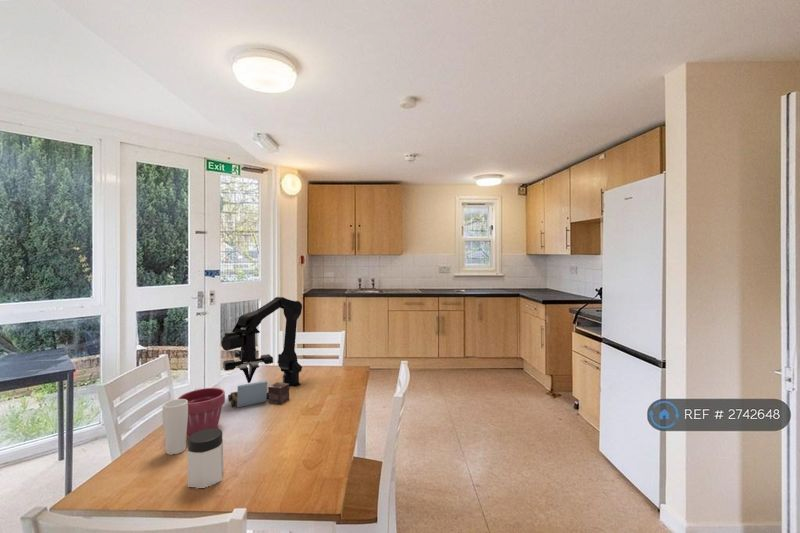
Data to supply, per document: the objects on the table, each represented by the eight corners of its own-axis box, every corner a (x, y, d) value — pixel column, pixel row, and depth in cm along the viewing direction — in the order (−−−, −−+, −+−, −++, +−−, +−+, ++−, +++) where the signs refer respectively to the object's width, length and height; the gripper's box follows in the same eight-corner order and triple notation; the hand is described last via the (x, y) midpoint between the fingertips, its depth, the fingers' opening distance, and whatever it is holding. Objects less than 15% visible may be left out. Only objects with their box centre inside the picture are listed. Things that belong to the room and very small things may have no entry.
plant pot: (176, 446, 115) (175, 405, 115) (179, 428, 128) (178, 391, 128) (226, 435, 122) (225, 397, 122) (224, 419, 134) (224, 385, 134)
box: (289, 400, 152) (289, 383, 152) (280, 406, 146) (280, 388, 146) (277, 399, 154) (277, 382, 154) (268, 404, 148) (267, 386, 148)
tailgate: (266, 401, 150) (265, 399, 150) (267, 381, 148) (266, 380, 148) (237, 407, 144) (237, 406, 144) (238, 387, 141) (237, 385, 142)
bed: (263, 393, 161) (262, 386, 161) (270, 402, 151) (270, 394, 151) (227, 400, 153) (227, 393, 153) (233, 410, 143) (232, 402, 143)
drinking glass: (193, 446, 115) (192, 398, 115) (178, 457, 108) (177, 407, 108) (173, 445, 116) (172, 398, 116) (157, 456, 109) (156, 406, 109)
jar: (216, 466, 103) (215, 424, 103) (230, 477, 98) (229, 433, 98) (181, 481, 96) (181, 436, 96) (194, 494, 91) (193, 446, 91)
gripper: (266, 339, 163) (267, 373, 163) (220, 344, 153) (221, 381, 153) (273, 343, 154) (273, 380, 154) (224, 350, 144) (225, 389, 144)
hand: (249, 382), depth 152 cm, fingers closed
